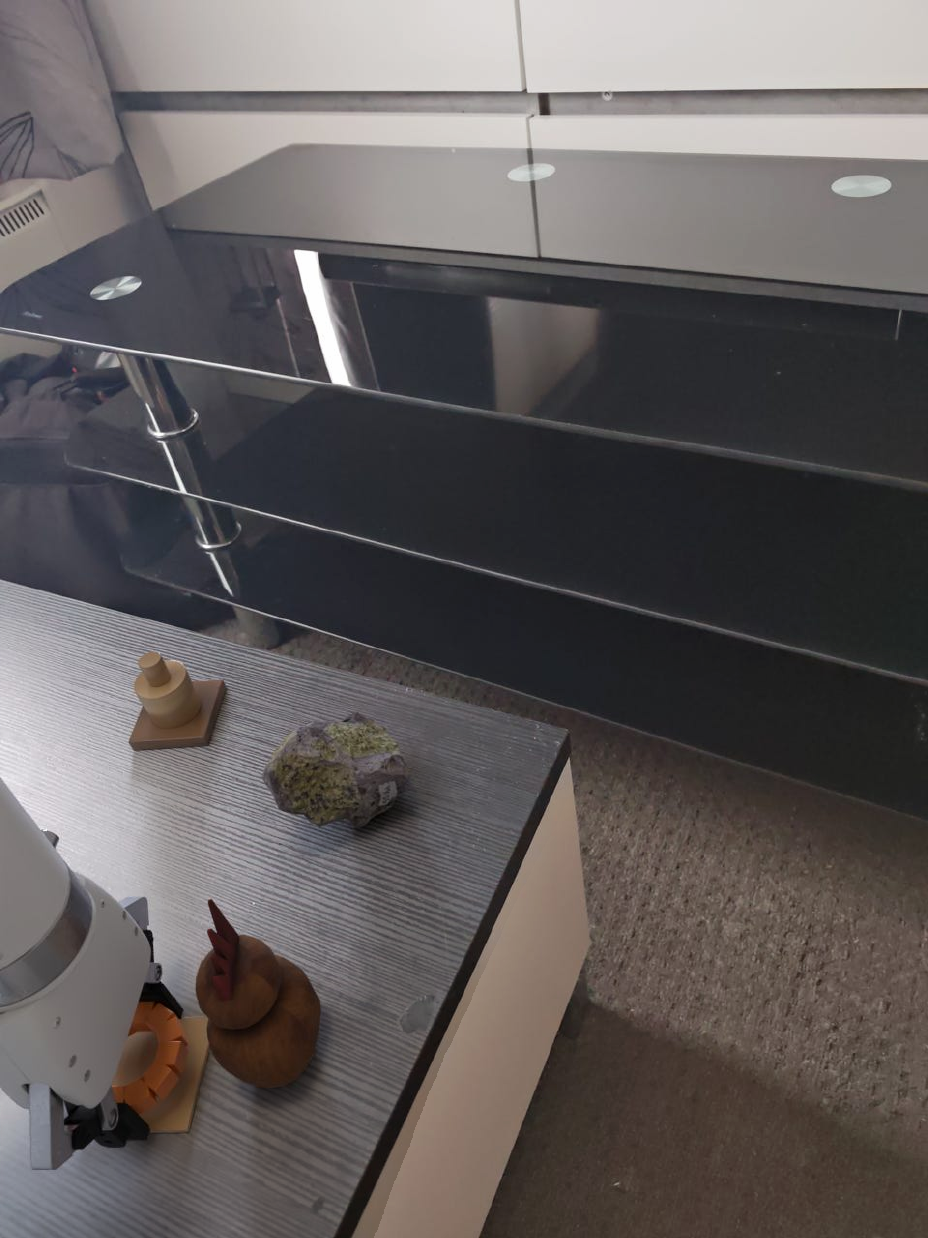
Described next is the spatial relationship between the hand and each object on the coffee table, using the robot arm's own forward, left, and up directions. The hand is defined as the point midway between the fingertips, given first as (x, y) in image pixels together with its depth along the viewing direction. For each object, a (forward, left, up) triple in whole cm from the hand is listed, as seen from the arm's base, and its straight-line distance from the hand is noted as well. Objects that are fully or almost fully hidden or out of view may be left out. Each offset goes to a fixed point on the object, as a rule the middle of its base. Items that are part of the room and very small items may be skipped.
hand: (143, 1072), depth 58 cm
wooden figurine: (+2, -9, -1) cm, 9 cm away
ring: (0, 0, +1) cm, 1 cm away
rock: (+20, -11, -1) cm, 23 cm away
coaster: (0, 0, -1) cm, 1 cm away
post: (+31, +7, -1) cm, 32 cm away
